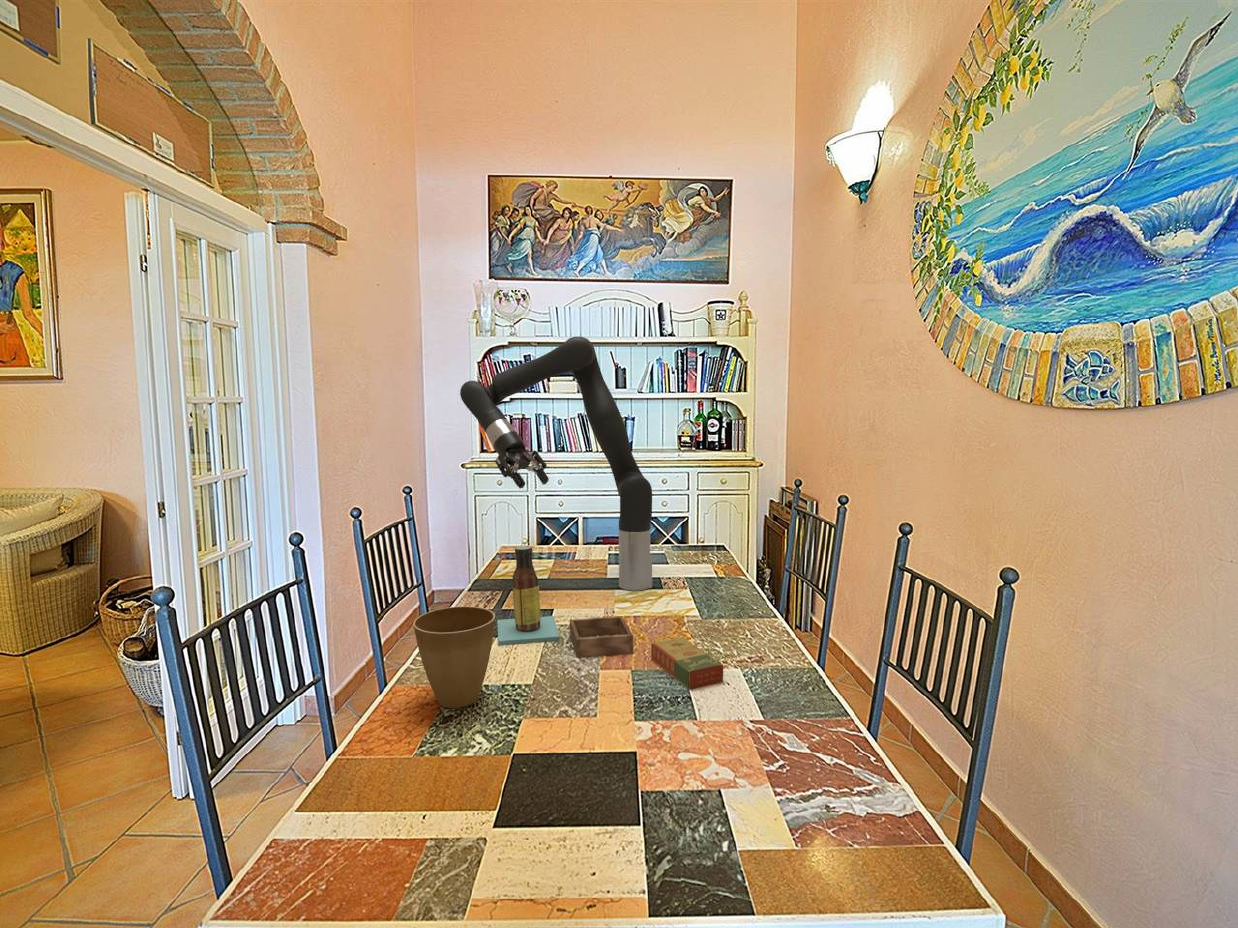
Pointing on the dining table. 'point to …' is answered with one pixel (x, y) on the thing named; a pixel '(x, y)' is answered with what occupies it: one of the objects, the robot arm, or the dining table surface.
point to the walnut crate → (604, 643)
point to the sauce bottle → (526, 591)
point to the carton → (686, 663)
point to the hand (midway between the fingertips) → (534, 484)
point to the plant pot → (455, 651)
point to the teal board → (527, 632)
